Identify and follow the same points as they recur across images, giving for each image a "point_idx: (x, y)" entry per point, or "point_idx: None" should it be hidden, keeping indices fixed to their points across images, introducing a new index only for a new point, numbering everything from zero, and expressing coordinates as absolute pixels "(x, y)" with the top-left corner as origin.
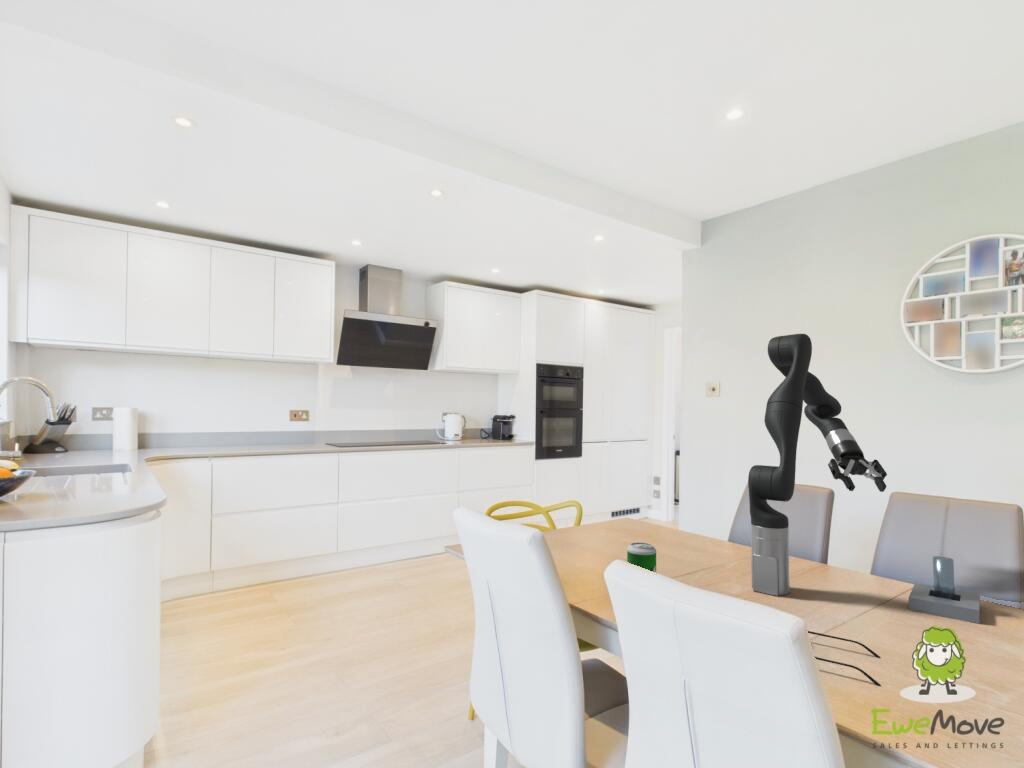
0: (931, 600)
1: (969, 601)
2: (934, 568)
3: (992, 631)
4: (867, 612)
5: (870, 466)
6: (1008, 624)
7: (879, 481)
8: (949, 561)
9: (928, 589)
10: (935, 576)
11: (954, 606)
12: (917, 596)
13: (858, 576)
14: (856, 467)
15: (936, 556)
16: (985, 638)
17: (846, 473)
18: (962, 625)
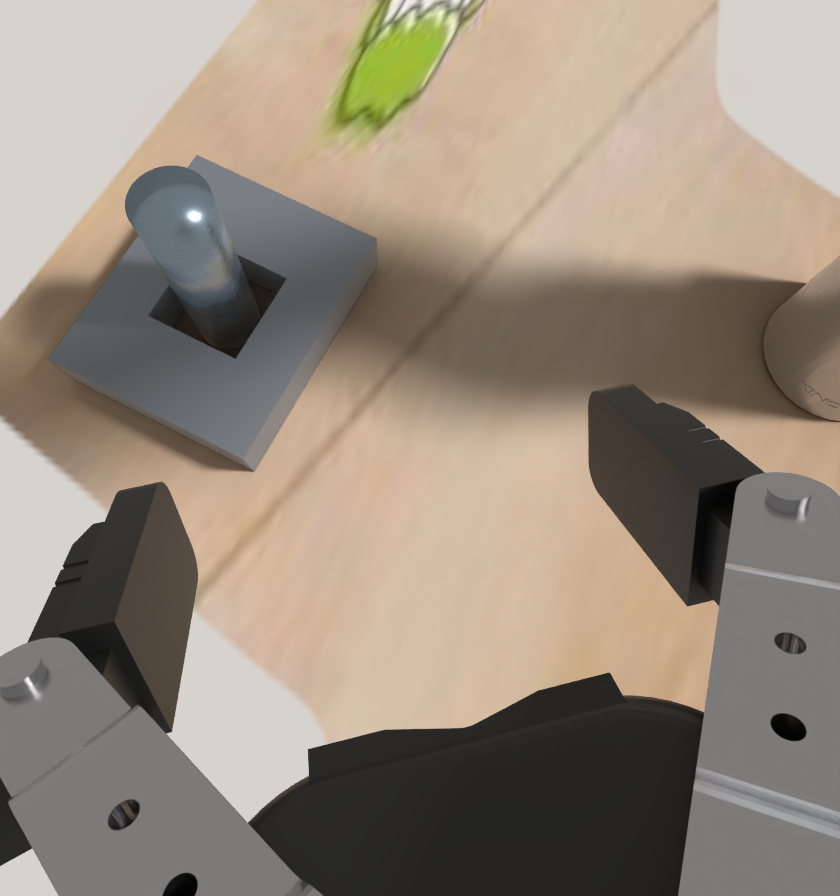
0: (308, 220)
1: None
2: (226, 232)
3: (210, 134)
4: (532, 202)
5: (71, 872)
6: (111, 205)
7: (140, 565)
8: (164, 169)
9: (241, 361)
10: (234, 248)
11: (256, 183)
12: (338, 254)
13: (404, 708)
14: (553, 801)
15: (180, 233)
16: (269, 78)
17: (791, 518)
18: (274, 161)
